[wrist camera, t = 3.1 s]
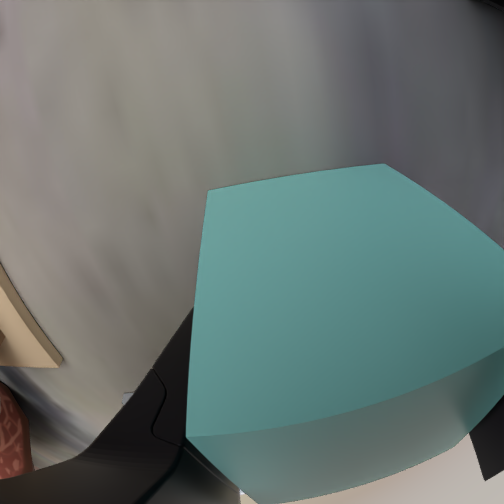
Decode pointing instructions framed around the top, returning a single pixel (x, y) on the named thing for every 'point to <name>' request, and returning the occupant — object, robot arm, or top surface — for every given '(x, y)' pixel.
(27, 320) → the tan wooden stamp
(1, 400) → the meat
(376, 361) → the turquoise block
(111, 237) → the top surface
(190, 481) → the robot arm
